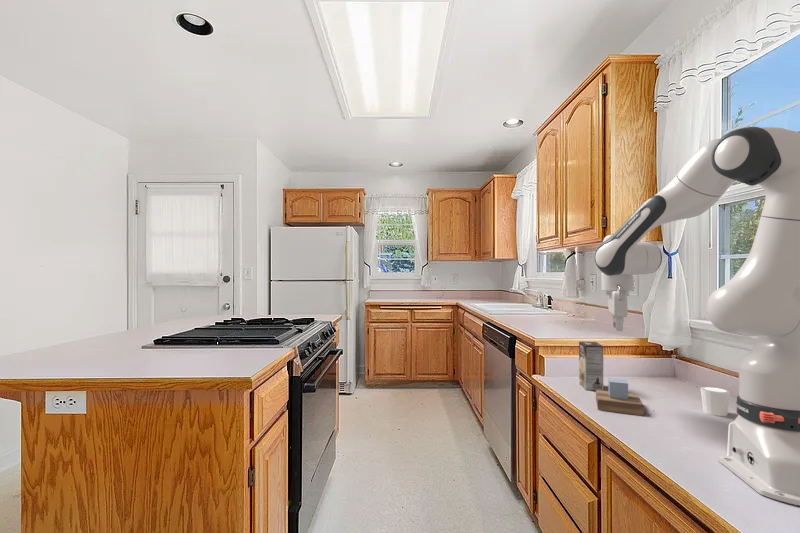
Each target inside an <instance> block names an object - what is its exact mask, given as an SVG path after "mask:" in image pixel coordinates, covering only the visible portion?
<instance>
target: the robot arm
mask: <svg viewBox="0 0 800 533" xmlns="http://www.w3.org/2000/svg"><path fill="white" fill-rule="evenodd" d="M735 182H740V183H742V184H745V185H747V186H750V187H751V186H752V187H753V186H756V185H760V186H761V187H762V188H763V190H764V193H765V195H764V196H765V197H764V204H763V207H762V210H761V213H760V215H761V216H760V219H759V221H758V226H757V229H756V232H755V236H754V239H753V242H752V245H751V248H750V251H749V253H748V255H747V257H746V259H745V260H744V262H743V264H742V265H741V266H740V268H739V269H738V270H737V272H736V273H735V274H734V276H732V277H731V279H730V280H728V281H727V282H726V283H725V284H723V285H722V286H721V287H719V288H717V289H715V290H714V291H712V292H711V294H710V295H709V297H708V299H707V302H706V314H707V317H708V319H709V321H710V322H711V324H712V325H713V326H714V327H715V328H717V329H718V330H720V331H721V332H725V333H729V334H733V335H738V336H744V337H757V339H756V342H755V343H754V346H753V347H752V348H751V350H750V351H749V352H747V353H746V354H745V355H743V357H741V359H740V360H739V363H738V394H739V395H737V396H736V402H735V406H736V413H737V414H738V415H737V416H736V417H735V419H734V420H733V421H731V422H730V423H729V424H728V430H727V447H726V448H727V450H726V454H720V455H719V456H718V462H719V463H721V464H722V465H723V466H725V467H726V468H727V469H728V470H729V471H731V473H733V474H734V475H736V476H737V477H738V478H739V479H741V480H742V481H743V482H744V483H746V484H747V485H748V486H749V487H751V489H753V490H754V491H756V492H757V493H759V495H762V496H764V497H767V498H770V499H772V500H776V501H779V502H784V503H786V504H791V505H795V506H800V131H795V130H790V129H786V128H783V127H772V126H771V127H769V126H768V127H766V126H765V127H759V126H747V127H741V128H737V129H734V130H732V131H730V132H726V133H725V134H724V135H723V136H721V138H715V139H711V140H709V141H707V142H705V143H704V144H703V145H702V146H701V147H700V148H699V149H697V151H696V152H694V154H692V156H691V157H690V158H688V160H687V161H686V162H685V163H684V165H683V166H682V167H681V168H680V170H678V171H677V173H676V175H675V176H674V177H673V178H672V179H671V180H670V181H669V183H667V184H666V185H665V186H664V187H663V188H662V189H661V190H659V191H658V192H657V193H656V194H654V195H653V196H651V197H649V198H648V199H647V200H645V201H644V202H643V203H642V204H641V205H640V206H639V207H638V208H637V209H636V210H635V211H634V212H633V213H632V214H631V215H630V216H629V217H628V219H627V220H626V221H625V222H624V223H622V225H621V226H620V227H619V228H618V229H617V230H616V231H615V233H611V234H607V235H606V236H605V237H604V238H603V240H602V242H601V244H599V246H598V247H597V249H596V251H595V253H594V262H595V265H596V267H597V268H598V269H599V271H601V279H600V280H601V291H605V296H606V301H607V307H608V308H607V310H608V311H609V313H610V314H611V318H612V327H613V328H614V329H615V330H616V332H623V330H624V322H625V320H624V318H627V317H628V312H629V311H628V310H629V309H628V297H629V296H630V294H629V293H630V292H633V291H634V275H649V274H653V273H655V272H656V271H657V270H658V269H660V266H661V264H662V262H663V255H662V251H661V249H660V248H659V246H658V245H657V244H656V243H653V242H648V241H644V240H643V239H644V237H645V236H646V235H648V233H650V231H652V230H653V229H655V228H656V227H659V226H662V225H665V224H668V223H671V222H675V221H680V220H687V219H691V218H695V217H698V216H701V215H702V214H704V213H706V212H707V211H708V210H709V209H711V208H712V207H713V206H714V205H715V204H716V203H717V202H718V201H719V200H720V198H722V196H723V195H724V194H725V193H726V192H727V190H728V189H729V188H731V186H732V185H733V183H735Z"/></svg>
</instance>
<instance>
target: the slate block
mask: <svg viewBox="0 0 800 533" xmlns="http://www.w3.org/2000/svg"><path fill="white" fill-rule="evenodd" d="M607 380H608V391H609V397H610V398H614V399H622V400H628V393H629V382H628V381H627V379H622V378H621V379H620V378H611V377H610V378H609V377H608V379H607Z"/></svg>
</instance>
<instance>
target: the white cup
mask: <svg viewBox="0 0 800 533" xmlns="http://www.w3.org/2000/svg"><path fill="white" fill-rule="evenodd" d="M730 393H731V392H730V391H729V390H727V389H724V388H721V387H716V386H715V387H713V386H701V387H700V394H701V395H700V396H701V404H702V411H703V412H704V413H705V414H708V415H710V416H711V415H712V416H716V417H727V416H728V410H729V401H730Z"/></svg>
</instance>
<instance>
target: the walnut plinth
mask: <svg viewBox="0 0 800 533" xmlns="http://www.w3.org/2000/svg"><path fill="white" fill-rule="evenodd" d="M595 400H596V407H597V410H598V411H606V412H614V413H621V414H628V415H629V414H630V415H636V416H644V414H645V413H644V411H645V410H644V403H643V402H642V400H641V398H640V396H639V394H638V393H629V392H628V400H622V399H614V398H610V397H609V390H604V389H603V390H595Z"/></svg>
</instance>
